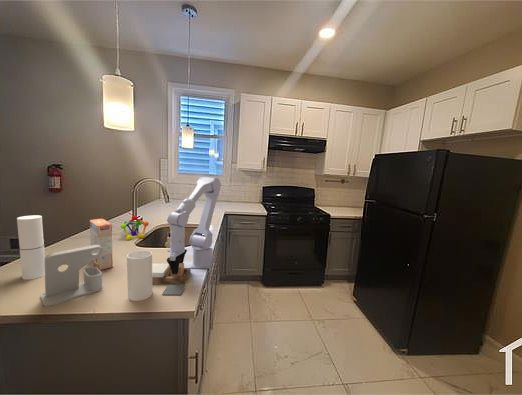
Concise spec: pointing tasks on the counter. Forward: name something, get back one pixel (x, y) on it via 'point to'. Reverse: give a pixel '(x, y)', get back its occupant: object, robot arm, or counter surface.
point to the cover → (159, 269)
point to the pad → (174, 290)
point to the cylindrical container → (31, 246)
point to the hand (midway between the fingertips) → (177, 269)
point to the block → (179, 271)
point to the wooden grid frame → (172, 278)
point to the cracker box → (102, 242)
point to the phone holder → (70, 275)
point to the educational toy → (133, 234)
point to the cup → (139, 275)
